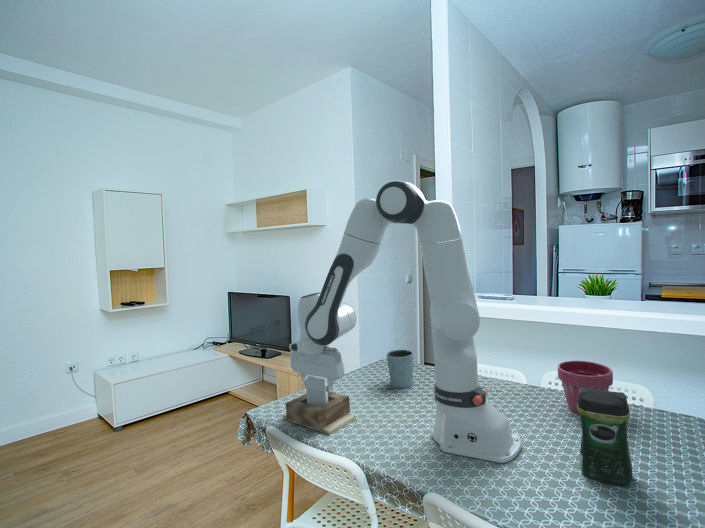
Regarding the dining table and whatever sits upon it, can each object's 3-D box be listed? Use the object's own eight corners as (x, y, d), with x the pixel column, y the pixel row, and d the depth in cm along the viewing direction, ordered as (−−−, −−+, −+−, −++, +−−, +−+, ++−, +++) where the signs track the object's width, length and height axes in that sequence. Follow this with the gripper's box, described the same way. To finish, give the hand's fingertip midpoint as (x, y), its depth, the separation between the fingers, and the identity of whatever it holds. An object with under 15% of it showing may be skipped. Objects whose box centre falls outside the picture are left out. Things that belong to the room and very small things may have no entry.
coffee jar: (632, 471, 84) (629, 388, 83) (633, 491, 78) (630, 401, 77) (581, 459, 90) (578, 381, 89) (577, 477, 83) (574, 393, 82)
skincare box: (329, 412, 122) (327, 375, 121) (327, 418, 117) (324, 379, 117) (310, 412, 122) (308, 375, 122) (307, 418, 118) (305, 380, 117)
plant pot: (604, 424, 105) (602, 379, 104) (551, 410, 116) (549, 368, 115) (620, 408, 114) (619, 366, 114) (570, 396, 125) (568, 357, 124)
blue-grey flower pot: (419, 381, 147) (417, 350, 146) (408, 390, 138) (406, 358, 137) (395, 378, 152) (393, 348, 151) (383, 386, 143) (381, 355, 143)
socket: (357, 417, 119) (356, 398, 119) (327, 436, 108) (326, 415, 108) (311, 403, 131) (310, 386, 131) (280, 419, 121) (279, 401, 120)
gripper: (346, 345, 115) (350, 391, 115) (299, 339, 128) (303, 380, 128) (332, 351, 110) (336, 398, 110) (285, 344, 123) (289, 386, 123)
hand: (318, 388), depth 119 cm, fingers open, 8 cm apart
